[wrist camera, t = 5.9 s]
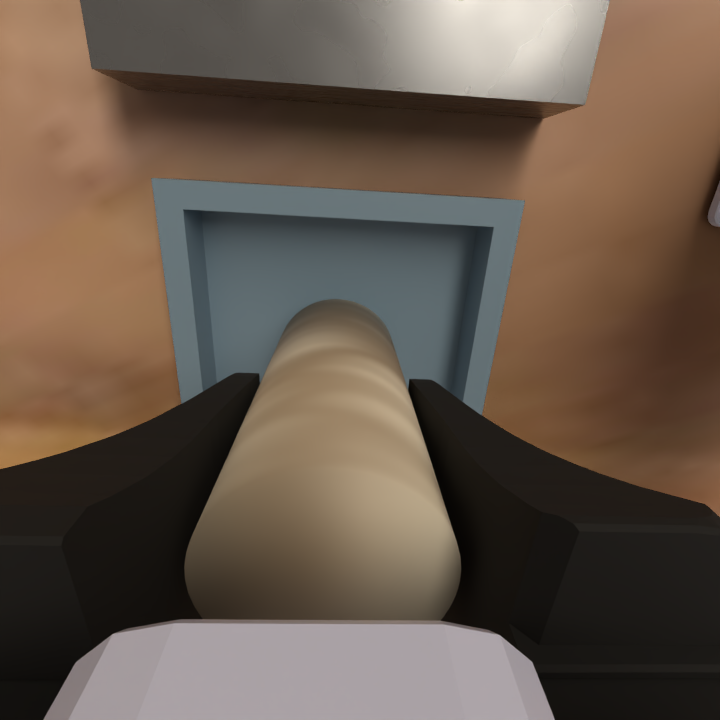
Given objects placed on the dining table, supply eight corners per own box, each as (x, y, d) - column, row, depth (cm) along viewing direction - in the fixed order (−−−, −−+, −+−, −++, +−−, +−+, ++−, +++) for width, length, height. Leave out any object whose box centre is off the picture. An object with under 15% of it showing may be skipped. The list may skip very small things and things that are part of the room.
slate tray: (499, 198, 14) (524, 200, 12) (453, 456, 19) (466, 489, 17) (179, 178, 14) (151, 178, 12) (209, 449, 18) (192, 483, 16)
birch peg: (398, 302, 14) (482, 472, 5) (388, 407, 15) (441, 668, 7) (277, 295, 13) (168, 463, 5) (280, 403, 15) (198, 669, 7)
